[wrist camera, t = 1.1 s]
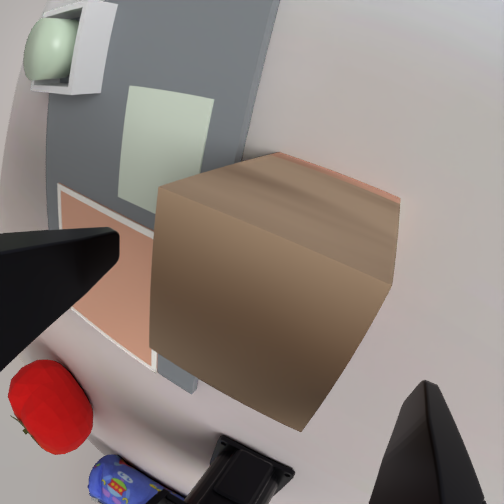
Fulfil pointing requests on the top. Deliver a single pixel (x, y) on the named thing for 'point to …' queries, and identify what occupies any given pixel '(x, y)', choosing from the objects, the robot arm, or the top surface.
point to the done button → (50, 48)
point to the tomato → (51, 406)
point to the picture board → (146, 133)
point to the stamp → (269, 279)
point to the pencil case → (121, 483)
